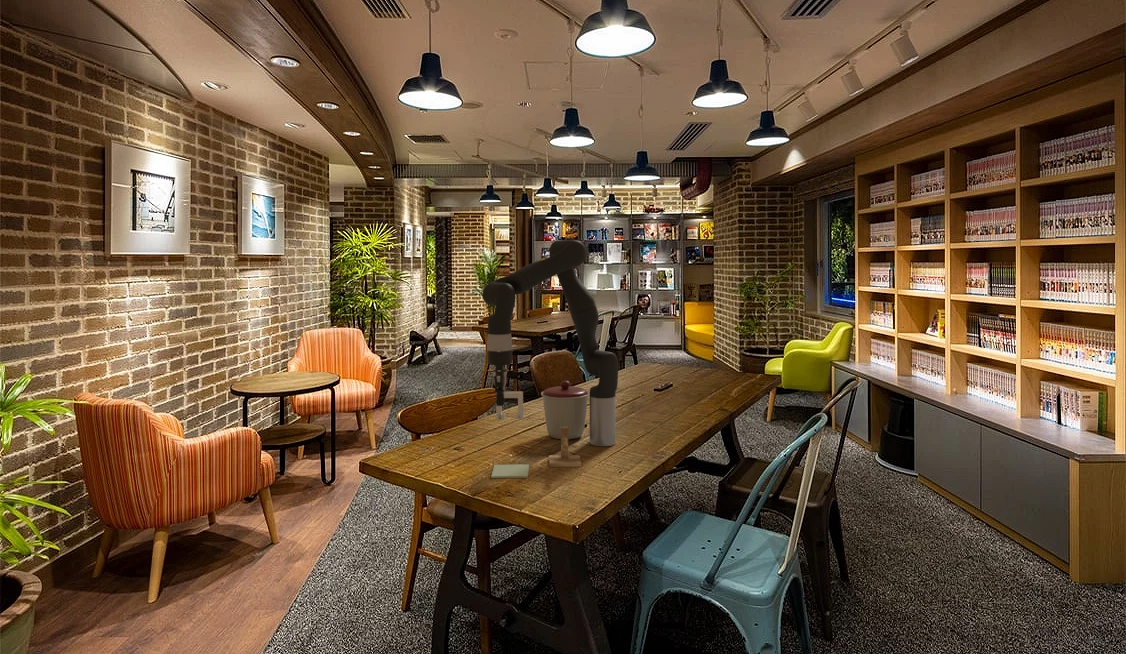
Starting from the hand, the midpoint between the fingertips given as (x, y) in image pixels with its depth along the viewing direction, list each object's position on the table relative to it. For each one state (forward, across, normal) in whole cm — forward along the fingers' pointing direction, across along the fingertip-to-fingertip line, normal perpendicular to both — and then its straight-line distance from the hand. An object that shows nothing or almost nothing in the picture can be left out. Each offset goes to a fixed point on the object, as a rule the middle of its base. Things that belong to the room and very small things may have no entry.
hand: (500, 404), depth 196 cm
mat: (+21, 0, +3) cm, 22 cm away
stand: (+21, -4, +20) cm, 29 cm away
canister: (+22, -40, +21) cm, 50 cm away
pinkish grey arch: (+4, 0, +3) cm, 5 cm away
